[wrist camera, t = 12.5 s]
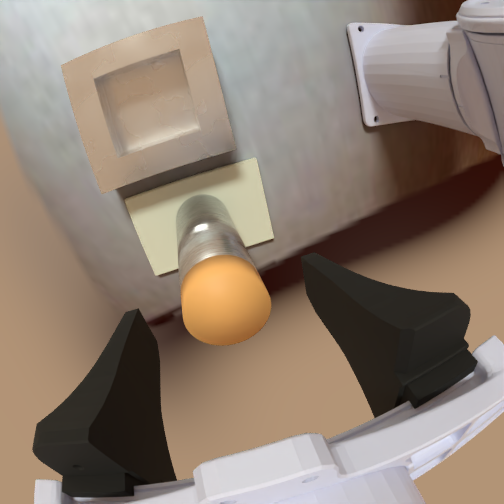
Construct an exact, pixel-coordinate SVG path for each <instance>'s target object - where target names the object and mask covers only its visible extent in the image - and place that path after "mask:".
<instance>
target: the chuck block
mask: <svg viewBox="0 0 504 504" xmlns="http://www.w3.org/2000/svg"><path fill="white" fill-rule="evenodd" d="M61 68H62V72H63V76H64V80H65V84H66V87H67V91H68V95H69V98H70V102H71V105H72V109H73V112H74V116H75V119H76V122H77V125H78V128H79V132H80V135H81V138H82V141H83V144H84V147H85V150H86V153H87V156H88V158H89V161H90V164H91V167H92V170H93V172H94V175H95V178H96V180H97V183H98V186H99V188H100V191H101V193H102V194H104V193H106V192H109V191H112V190H114V189H117V188H119V187H122V186H125V185H127V184H130V183H133V182H136V181H138V180H141V179H144V178H147V177H150V176H153V175H155V174H158V173H161V172H164V171H167V170H170V169H173V168H176V167H180V166H183V165H186V164H189V163H192V162H195V161H199V160H202V159H205V158H209V157H212V156H215V155H219V154H222V153H226V152H229V151H233V150H236V146H235V142H234V138H233V134H232V130H231V126H230V122H229V118H228V114H227V110H226V106H225V102H224V98H223V94H222V90H221V86H220V82H219V78H218V74H217V70H216V66H215V63H214V59H213V55H212V51H211V47H210V43H209V39H208V35H207V31H206V28H205V24H204V20H203V16H202V17H198V18H193V19H189V20H185V21H181V22H177V23H173V24H169V25H166V26H162V27H159V28H155V29H152V30H149V31H146V32H142V33H139V34H136V35H133V36H130V37H128V38H125V39H122V40H119V41H117V42H114V43H111V44H109V45H106V46H104V47H101V48H99V49H96V50H94V51H91V52H89V53H87V54H84V55H82V56H80V57H78V58H76V59H73V60H71V61H69V62H67V63H65V64H63V65H61Z"/></svg>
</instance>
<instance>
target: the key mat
mask: <svg viewBox="0 0 504 504" xmlns="http://www.w3.org/2000/svg"><path fill="white" fill-rule="evenodd" d="M201 194H206V195H211V196H214V197H216V198H218V199H219V200H220V201H222V202H223V204H224V205H225V206H226V208H227V210H228V212H229V214H230V216H231V218H232V220H233V223H234V225H235V227H236V229H237V231H238V233H239V235H240V237H241V239H242V241H243V243H244V245H245V247H247V246H251V245H254V244H257V243H260V242H263V241H266V240H270V239H273V238H274V236H273V231H272V227H271V222H270V217H269V213H268V208H267V204H266V199H265V195H264V190H263V186H262V181H261V177H260V172H259V168H258V163H257V159H256V158H252V159H248V160H244V161H241V162H237V163H234V164H230V165H227V166H223V167H220V168H216V169H213V170H210V171H206V172H203V173H200V174H197V175H194V176H190V177H187V178H184V179H181V180H178V181H175V182H172V183H169V184H166V185H163V186H160V187H157V188H154V189H151V190H148V191H145V192H143V193H140V194H137V195H134V196H131V197H129V198H126V199H125V204H126V206H127V209H128V211H129V214H130V216H131V219H132V221H133V224H134V226H135V229H136V231H137V234H138V236H139V239H140V241H141V243H142V246H143V248H144V250H145V253H146V255H147V257H148V260H149V262H150V264H151V266H152V269H153V271H154V273H155V275H156V276H157V275H160V274H163V273H166V272H169V271H172V270H175V269H179V267H178V252H177V236H176V215H177V211H178V209H179V208H180V206H181V205H182V204H183V203H184V202H185V201H186V200H187V199H189V198H191V197H193V196H196V195H201Z"/></svg>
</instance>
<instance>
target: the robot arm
mask: <svg viewBox="0 0 504 504" xmlns="http://www.w3.org/2000/svg"><path fill="white" fill-rule="evenodd" d="M456 19H457V21H445V22H434V23H425V24H417V25H397V24H381V23H351V24H349V25H348V26H347V32H348V37H349V41H350V46H351V51H352V56H353V61H354V66H355V71H356V77H357V82H358V88H359V95H360V101H361V108H362V115H363V121H364V124H365V125H367V126H370V127H372V126H378V125H384V124H391V123H397V122H404V121H411V120H419V121H423V122H428V123H432V124H436V125H440V126H444V127H448V128H451V129H455V130H459V131H462V132H466V133H469V134H472V135H476V136H479V137H480V138H481V139H482V140H483V142H484V145H485V148H486V149H488V150H490V151H493V152H496V153H499V154H501V157H502V163H503V165H504V0H467V1H465V2H464V3H462V5H461V7H460V10H459V12H458V13H457V14H456ZM358 27H360V28H361V32H360V31H359V30H358ZM375 116H376V118H377V119H376V121H375V122H374V117H375ZM301 261H302V267H303V273H304V280H305V287H306V293H307V296H308V298H309V300H310V302H311V303H312V306H313V307H314V309H315V312H316V313H317V315H318V316H319V317H320V319H321V320H322V322H323V323H324V325H325V326H326V328H327V329H328V331H329V332H330V333H331V335H332V336H333V338H334V339H335V341H336V342H337V344H338V345H339V346H340V348H341V350H342V351H343V353H344V354H345V356H346V358H347V360H348V362H349V364H350V366H351V368H352V370H353V371H354V374H355V375H356V377H357V380H358V382H359V384H360V385H361V388H362V390H363V392H364V394H365V397H366V399H367V401H368V403H369V405H370V408H371V410H372V413H373V415H374V417H375V418H374V419H372V420H370V421H368V422H366V423H364V424H362V425H359V426H357V427H355V428H353V429H351V430H348V431H346V432H344V433H341V434H339V435H336V436H334V437H332V438H329V439H327V440H326V438H325V437H324V436H323V435H321V434H318V433H304V434H300V435H296V436H291V437H288V438H285V439H282V440H279V441H276V442H273V443H270V444H266V445H263V446H260V447H256V448H253V449H249V450H246V451H242V452H238V453H235V454H231V455H227V456H222V457H219V458H215V459H212V460H209V461H206V462H203V463H201V464H200V465H199V466H198V467H197V468H196V469H195V470H194V471H193V475H194V478H191V479H184V480H178V481H177V479H176V476H175V473H174V469H173V466H172V462H171V458H170V454H169V450H168V446H167V441H166V437H165V431H164V425H163V419H162V413H161V397H160V358H159V351H158V344H157V340H156V339H155V337H154V335H153V334H152V332H151V330H150V328H149V327H148V325H147V323H146V321H145V319H144V318H143V316H142V314H141V312H140V310H139V309H135V310H132V311H128V312H126V313H125V314H124V316H123V318H122V319H121V321H120V323H119V325H118V326H117V328H116V330H115V332H114V333H113V335H112V337H111V339H110V341H109V343H108V344H107V346H106V347H105V349H104V351H103V352H102V354H101V355H100V357H99V359H98V360H97V362H96V363H95V365H94V366H93V368H92V369H91V370H90V372H89V373H88V375H87V376H86V377H85V378H84V380H83V381H82V382H81V383H80V384H79V385H78V387H77V388H76V389H75V390H74V391H73V392H72V394H71V395H70V396H69V397H68V398H67V399H66V400H65V401H64V402H63V403H62V404H60V405H59V406H58V407H57V408H56V409H55V410H54V411H53V412H52V413H50V414H49V415H48V416H46V417H45V418H44V419H43V420H41V421H40V422H39V423H38V424H37V426H36V431H35V437H34V443H33V453H34V454H35V456H36V457H37V458H38V459H39V460H40V461H41V462H43V463H44V464H46V465H47V466H49V467H50V468H52V469H53V470H55V471H56V472H58V473H59V474H61V475H62V476H63V479H62V482H60V481H57V480H42V479H37V480H36V483H35V496H34V504H426V503H425V501H424V499H423V498H422V496H421V494H420V492H419V490H418V489H417V487H416V485H415V483H414V482H413V480H415V479H416V478H418V477H420V476H421V475H423V474H424V473H426V472H427V471H429V470H430V469H432V468H433V467H435V466H436V465H437V464H439V463H440V462H442V461H443V460H445V459H446V458H447V457H449V456H450V455H451V454H453V453H454V452H455V451H457V450H458V449H459V448H461V447H462V446H463V445H464V444H466V443H467V442H468V441H470V440H471V439H472V438H473V437H474V436H476V435H477V434H478V433H479V432H481V431H482V430H483V429H484V428H485V427H486V426H488V425H489V424H490V423H491V422H492V421H493V420H495V419H496V418H497V417H498V416H499V415H500V414H502V413H503V412H504V344H503V343H502V342H501V341H500V340H499V339H498V338H497V337H496V336H492V337H491V338H489V339H488V340H487V341H485V342H484V343H483V344H481V345H480V346H479V347H477V348H476V349H475V350H474V351H473V353H472V354H471V353H470V352H469V351H468V350H467V348H468V347H469V345H468V343H467V342H466V341H465V340H464V336H465V333H466V330H467V327H468V324H469V321H470V309H469V307H468V305H466V304H465V303H464V302H463V301H462V300H461V299H460V298H459V297H458V296H457V295H455V294H454V293H439V292H438V293H437V292H426V291H417V290H411V289H405V288H401V287H396V286H392V285H388V284H385V283H382V282H378V281H375V280H372V279H370V278H367V277H364V276H362V275H360V274H357V273H355V272H352V271H350V270H348V269H346V268H344V267H342V266H340V265H338V264H336V263H334V262H332V261H330V260H328V259H326V258H324V257H322V256H320V255H318V254H316V253H311V254H308V255H305V256H302V257H301Z"/></svg>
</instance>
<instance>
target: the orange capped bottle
mask: <svg viewBox="0 0 504 504" xmlns="http://www.w3.org/2000/svg"><path fill="white" fill-rule="evenodd" d="M176 236H177V252H178V267H179V280H180V292H181V303H182V313H183V320H184V323H185V326H186V328H187V330H188V331H189V332H190V333H191V335H193V336H194V337H195V338H197V339H198V340H200V341H202V342H205V343H207V344H211V345H222V346H223V345H232V344H236V343H240V342H242V341H245V340H247V339H249V338H250V337H252V336H254V335H255V334H256V333H257V332H258V331H260V330H261V328H262V327H263V326H264V325H265V323H266V322H267V320H268V318H269V315H270V312H271V299H270V296H269V294H268V292H267V290H266V288H265V286H264V284H263V282H262V280H261V277H260V275H259V273H258V271H257V269H256V267H255V265H254V263H253V261H252V259H251V257H250V255H249V253H248V251H247V249H246V247H245V245H244V243H243V241H242V239H241V237H240V235H239V233H238V231H237V229H236V227H235V225H234V223H233V220H232V218H231V216H230V214H229V212H228V210H227V208H226V206H225V205H224V204H223V202H222V201H220V200H219V199H218V198H216V197H214V196H211V195H206V194H201V195H196V196H193V197H191V198H189V199H187V200H186V201H185V202H184V203H183V204H182V205H181V206H180V208H179V209H178V211H177V215H176Z"/></svg>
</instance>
